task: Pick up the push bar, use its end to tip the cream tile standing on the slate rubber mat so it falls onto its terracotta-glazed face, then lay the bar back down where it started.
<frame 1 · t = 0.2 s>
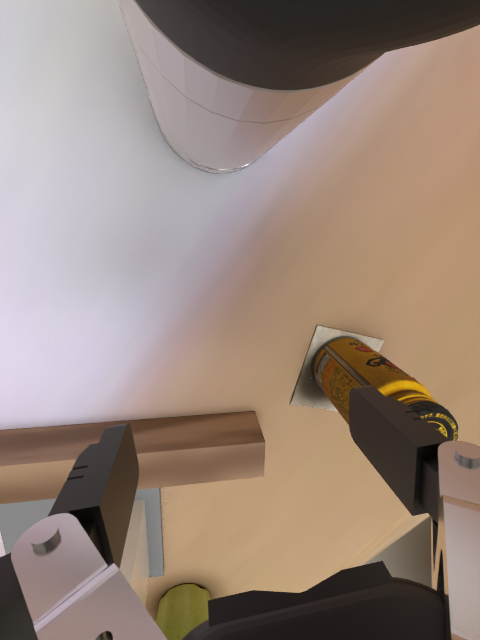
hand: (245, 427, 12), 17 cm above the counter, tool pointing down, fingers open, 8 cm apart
push bar: (130, 434, 31), on the counter
plant pot: (185, 598, 39), on the counter
mat: (87, 530, 33), on the counter
tile: (147, 536, 34), point 1 cm above the counter, touching mat
condiment: (335, 370, 32), on the counter
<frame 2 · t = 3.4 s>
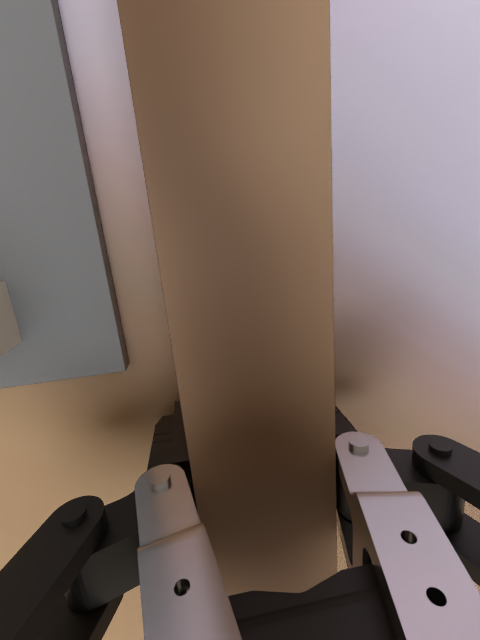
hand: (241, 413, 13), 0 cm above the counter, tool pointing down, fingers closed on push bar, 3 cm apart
push bar: (227, 283, 12), on the counter, touching gripper
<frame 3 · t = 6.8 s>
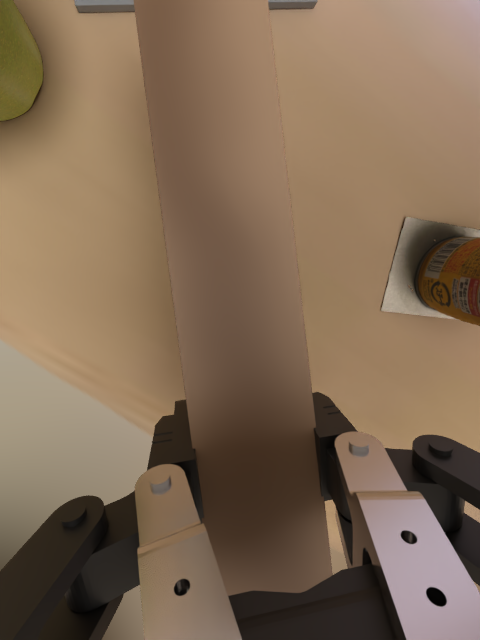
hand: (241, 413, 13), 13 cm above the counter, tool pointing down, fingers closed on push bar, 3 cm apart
push bar: (225, 301, 14), point 10 cm above the counter, tilted 13°, touching gripper
condiment: (436, 271, 26), on the counter
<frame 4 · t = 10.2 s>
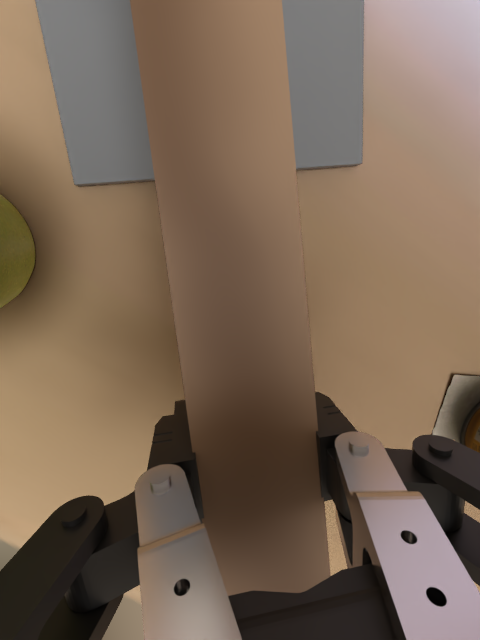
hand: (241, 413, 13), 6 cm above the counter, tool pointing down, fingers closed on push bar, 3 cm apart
push bar: (225, 294, 13), point 4 cm above the counter, tilted 8°, touching gripper
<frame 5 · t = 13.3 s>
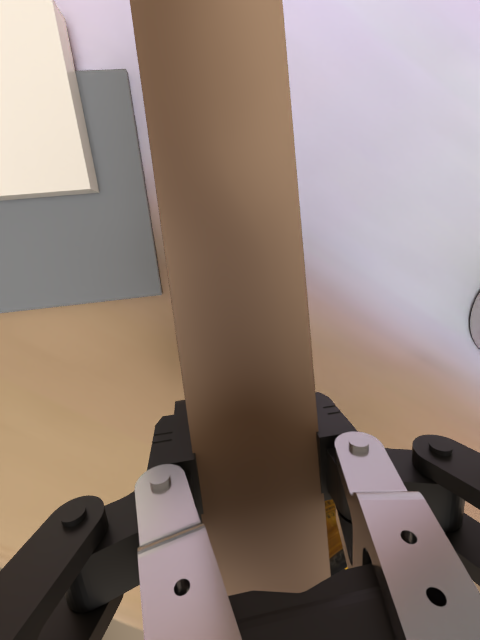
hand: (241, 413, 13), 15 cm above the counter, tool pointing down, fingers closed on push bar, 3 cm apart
push bar: (225, 293, 13), point 13 cm above the counter, tilted 8°, touching gripper
mat: (45, 200, 23), on the counter
tile: (7, 195, 20), point 3 cm above the counter, tilted 90°, touching mat
condiment: (293, 456, 32), on the counter
when the fingers open (1 cm above the counter, at t = 15.9 s): push bar stays where it is, on the counter.
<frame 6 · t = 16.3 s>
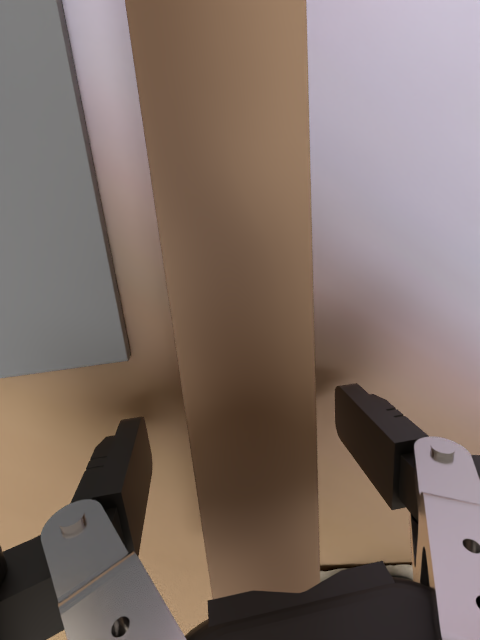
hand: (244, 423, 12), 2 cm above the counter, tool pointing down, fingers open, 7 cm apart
push bar: (224, 283, 13), on the counter
condiment: (361, 608, 19), on the counter
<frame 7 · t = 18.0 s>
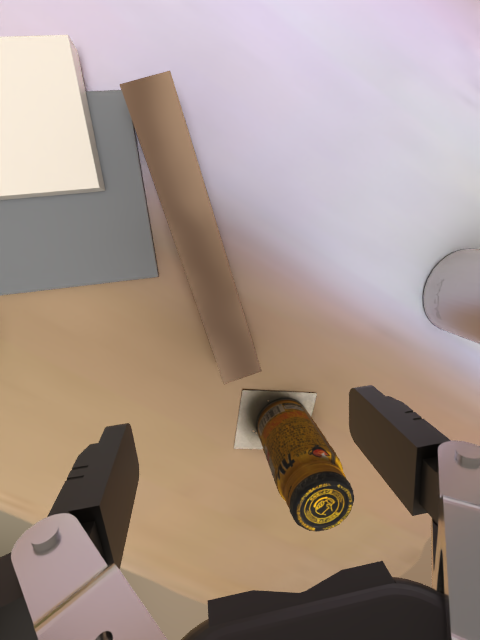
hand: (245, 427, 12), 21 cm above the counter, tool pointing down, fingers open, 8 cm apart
push bar: (198, 245, 30), on the counter
mat: (60, 198, 27), on the counter
tile: (31, 193, 25), point 3 cm above the counter, tilted 90°, touching mat
condiment: (274, 419, 37), on the counter
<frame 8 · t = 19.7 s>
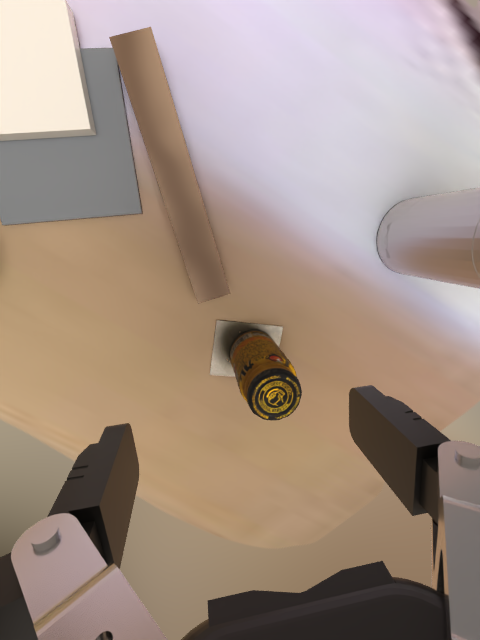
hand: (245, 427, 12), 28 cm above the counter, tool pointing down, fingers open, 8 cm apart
push bar: (178, 187, 35), on the counter
mat: (58, 141, 32), on the counter
tile: (33, 132, 30), point 3 cm above the counter, tilted 90°, touching mat
condiment: (245, 349, 41), on the counter
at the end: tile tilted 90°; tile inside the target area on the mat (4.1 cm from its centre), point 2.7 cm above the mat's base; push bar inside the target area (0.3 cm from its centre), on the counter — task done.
